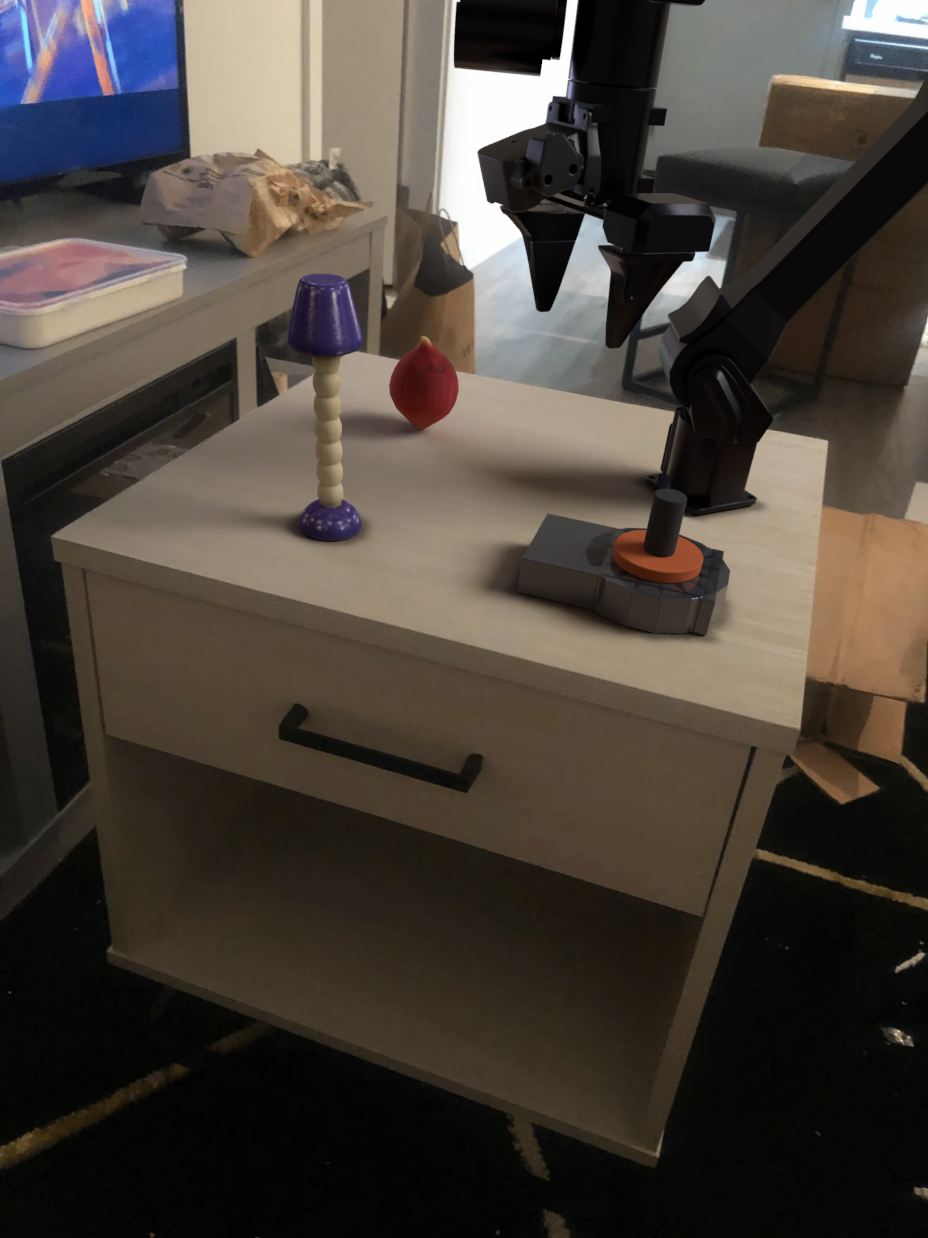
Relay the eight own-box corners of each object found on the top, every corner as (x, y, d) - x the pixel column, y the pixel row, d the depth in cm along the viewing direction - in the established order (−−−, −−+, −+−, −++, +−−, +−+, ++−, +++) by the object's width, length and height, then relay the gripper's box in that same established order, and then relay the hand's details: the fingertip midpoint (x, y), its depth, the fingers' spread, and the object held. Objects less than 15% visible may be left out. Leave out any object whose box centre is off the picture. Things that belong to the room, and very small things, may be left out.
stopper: (701, 580, 63) (724, 489, 59) (684, 620, 58) (708, 524, 55) (619, 558, 64) (636, 468, 61) (597, 596, 60) (614, 501, 56)
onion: (458, 421, 85) (465, 331, 80) (450, 445, 80) (458, 350, 76) (393, 413, 85) (397, 323, 81) (382, 437, 80) (386, 342, 76)
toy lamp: (313, 549, 63) (313, 291, 54) (277, 521, 66) (271, 271, 57) (373, 532, 66) (382, 283, 57) (336, 506, 68) (339, 265, 59)
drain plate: (725, 577, 64) (734, 545, 63) (714, 647, 57) (724, 612, 55) (545, 538, 67) (550, 506, 66) (512, 600, 59) (517, 565, 58)
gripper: (435, 63, 64) (421, 299, 72) (590, 93, 51) (551, 379, 59) (572, 73, 69) (544, 293, 77) (747, 103, 55) (690, 366, 64)
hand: (576, 328), depth 69 cm, fingers open, 9 cm apart
